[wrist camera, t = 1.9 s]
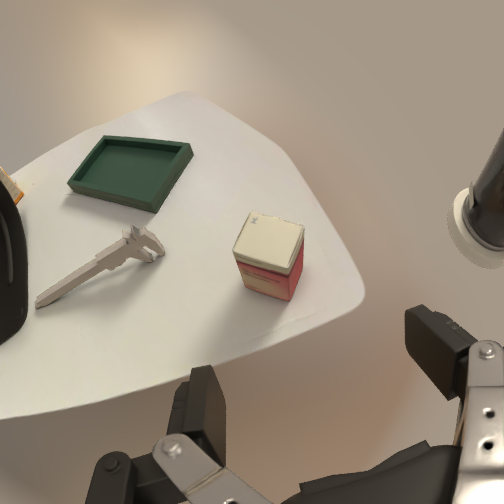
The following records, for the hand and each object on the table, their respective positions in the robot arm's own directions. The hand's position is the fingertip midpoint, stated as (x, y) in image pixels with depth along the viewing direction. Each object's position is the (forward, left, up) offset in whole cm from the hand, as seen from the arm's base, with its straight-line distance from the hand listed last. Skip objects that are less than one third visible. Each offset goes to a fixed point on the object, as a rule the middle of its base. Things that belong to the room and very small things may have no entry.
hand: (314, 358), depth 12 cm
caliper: (+18, -20, -18) cm, 32 cm away
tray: (+10, -36, -17) cm, 41 cm away
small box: (-2, -11, -18) cm, 21 cm away
